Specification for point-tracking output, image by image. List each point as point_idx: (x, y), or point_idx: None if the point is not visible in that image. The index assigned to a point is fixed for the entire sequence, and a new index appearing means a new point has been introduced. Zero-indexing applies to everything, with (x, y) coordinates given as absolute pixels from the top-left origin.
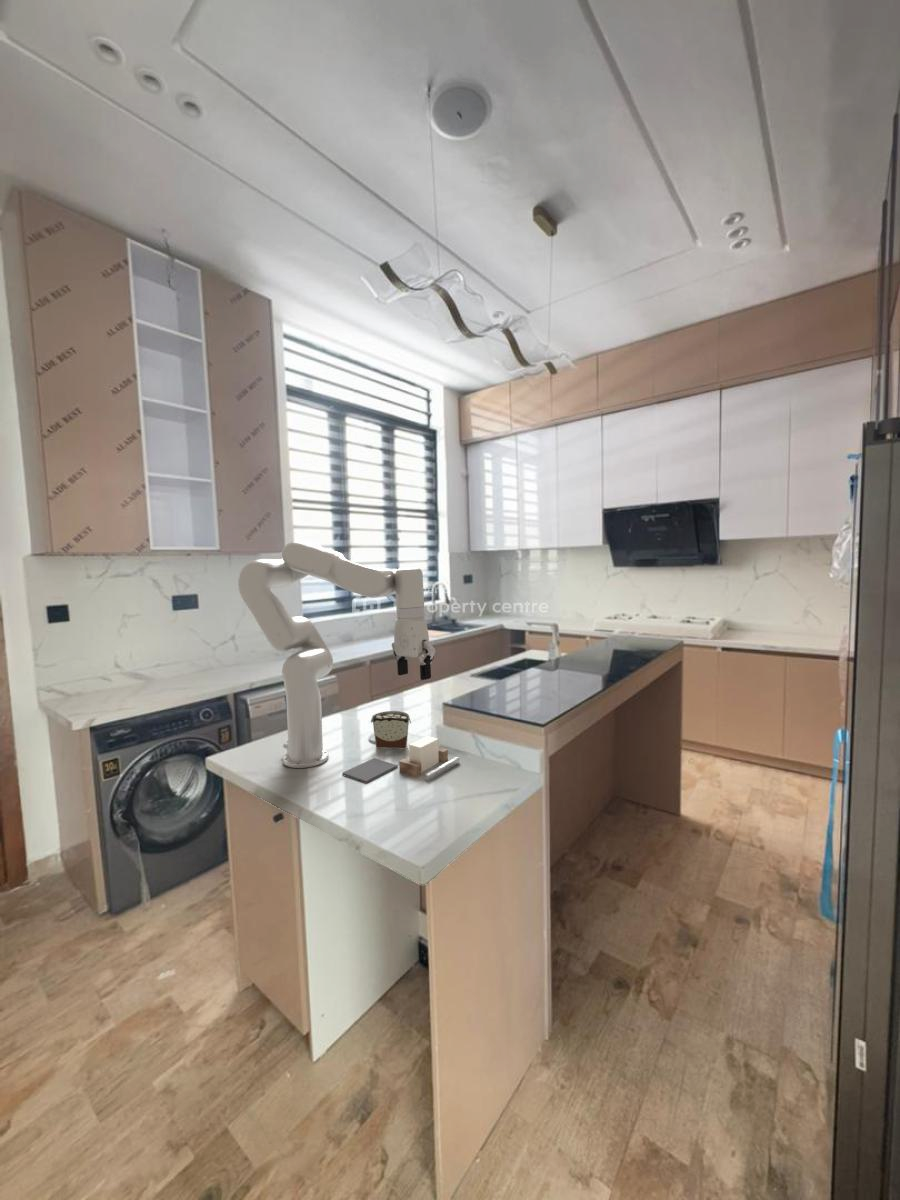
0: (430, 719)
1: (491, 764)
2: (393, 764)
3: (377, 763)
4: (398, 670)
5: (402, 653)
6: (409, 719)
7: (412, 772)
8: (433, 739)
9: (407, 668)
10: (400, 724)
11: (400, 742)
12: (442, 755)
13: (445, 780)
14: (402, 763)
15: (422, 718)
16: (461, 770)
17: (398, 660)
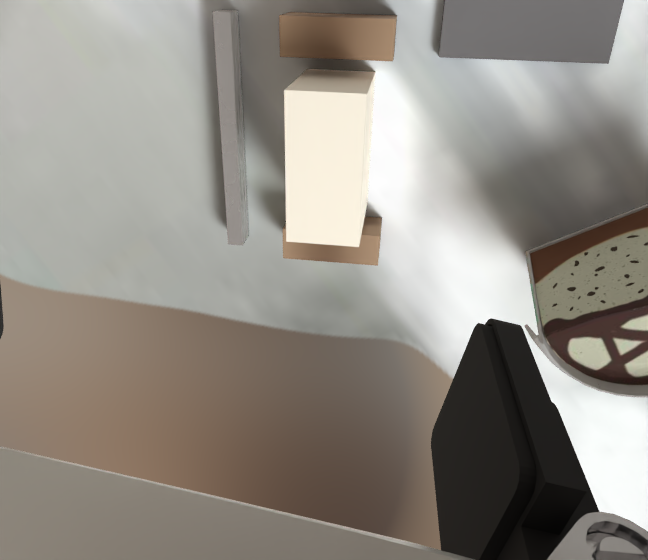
0: None
1: (133, 279)
2: (462, 52)
3: (548, 14)
4: (513, 358)
5: (166, 551)
6: (534, 336)
7: (311, 13)
8: (300, 221)
9: (439, 485)
10: (582, 302)
11: (559, 255)
12: None
13: (170, 61)
14: (373, 17)
15: None
16: (183, 179)
17: (575, 529)
